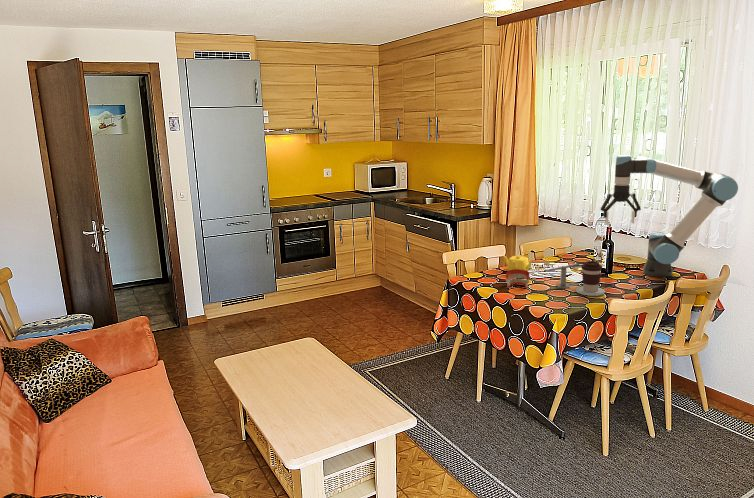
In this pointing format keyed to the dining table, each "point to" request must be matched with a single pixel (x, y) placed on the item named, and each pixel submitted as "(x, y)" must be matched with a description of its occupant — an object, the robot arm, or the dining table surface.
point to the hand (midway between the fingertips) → (619, 223)
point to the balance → (563, 273)
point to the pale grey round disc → (599, 292)
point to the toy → (516, 274)
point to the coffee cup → (591, 276)
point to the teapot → (518, 263)
